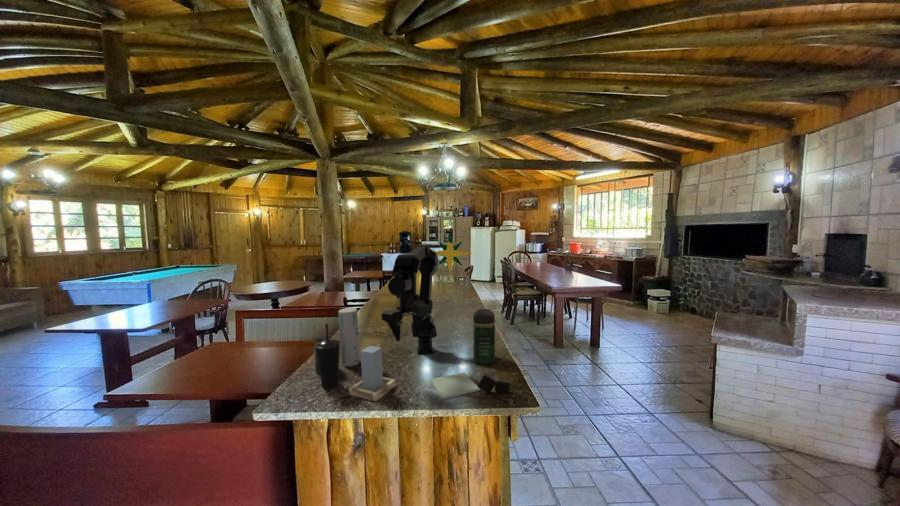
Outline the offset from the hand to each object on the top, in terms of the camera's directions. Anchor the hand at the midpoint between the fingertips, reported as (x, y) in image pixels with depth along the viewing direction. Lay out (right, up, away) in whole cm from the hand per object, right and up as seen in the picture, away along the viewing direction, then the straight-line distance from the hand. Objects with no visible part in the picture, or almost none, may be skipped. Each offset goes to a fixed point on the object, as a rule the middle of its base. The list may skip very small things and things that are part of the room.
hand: (408, 337), depth 111 cm
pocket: (-10, -14, -10) cm, 19 cm away
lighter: (+27, -13, -13) cm, 33 cm away
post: (-10, -14, -10) cm, 19 cm away
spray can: (-23, -12, +11) cm, 28 cm away
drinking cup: (-24, -14, -6) cm, 28 cm away
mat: (+15, -13, -8) cm, 22 cm away
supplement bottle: (-30, -13, +5) cm, 33 cm away
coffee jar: (+27, -11, +10) cm, 31 cm away
